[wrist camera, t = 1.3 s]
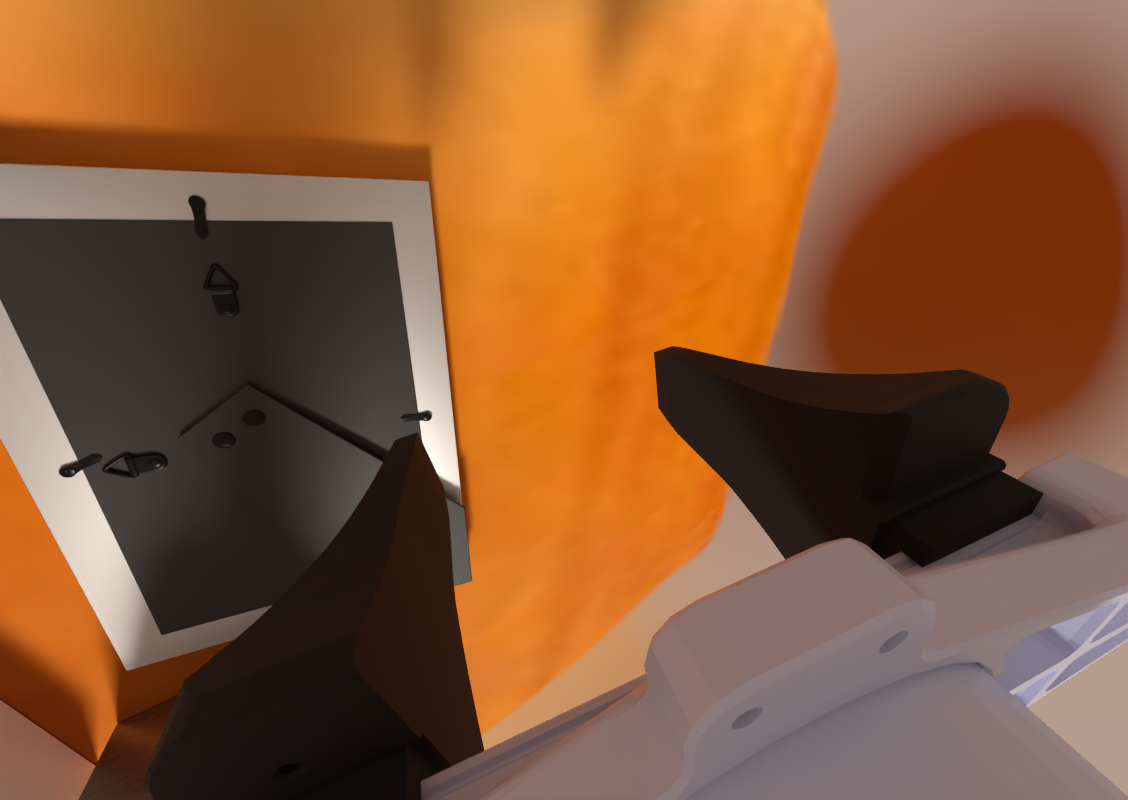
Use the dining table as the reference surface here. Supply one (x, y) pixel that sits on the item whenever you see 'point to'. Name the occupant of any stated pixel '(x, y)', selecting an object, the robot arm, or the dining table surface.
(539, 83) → the dining table surface
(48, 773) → the shelf wall
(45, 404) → the picture frame
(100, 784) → the bookend
